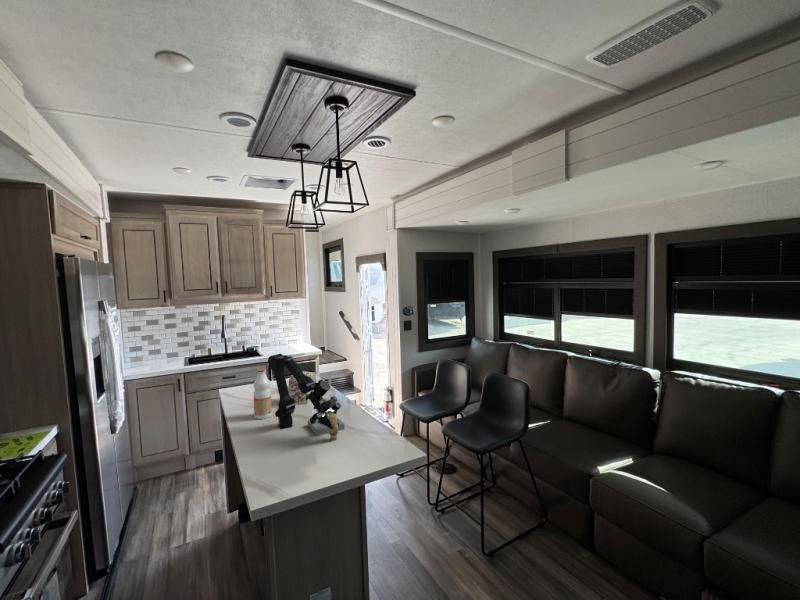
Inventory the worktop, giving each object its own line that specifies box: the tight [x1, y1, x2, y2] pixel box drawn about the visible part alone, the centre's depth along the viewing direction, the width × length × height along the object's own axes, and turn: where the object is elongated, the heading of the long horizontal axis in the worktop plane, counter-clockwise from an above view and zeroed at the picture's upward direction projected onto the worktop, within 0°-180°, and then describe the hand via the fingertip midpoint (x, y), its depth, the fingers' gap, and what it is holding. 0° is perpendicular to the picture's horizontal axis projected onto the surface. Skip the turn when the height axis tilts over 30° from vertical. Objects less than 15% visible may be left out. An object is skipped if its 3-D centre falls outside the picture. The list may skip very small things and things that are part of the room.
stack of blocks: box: [290, 370, 317, 383], centre depth 268 cm, size 21×6×12 cm, turn 159°
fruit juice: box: [253, 367, 273, 420], centre depth 216 cm, size 9×9×28 cm
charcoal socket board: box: [307, 415, 345, 436], centre depth 200 cm, size 15×15×3 cm
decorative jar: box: [288, 376, 309, 405], centre depth 240 cm, size 12×12×18 cm
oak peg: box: [328, 413, 339, 442], centre depth 185 cm, size 4×4×12 cm
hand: (335, 427), depth 185 cm, fingers closed on oak peg, 4 cm apart
